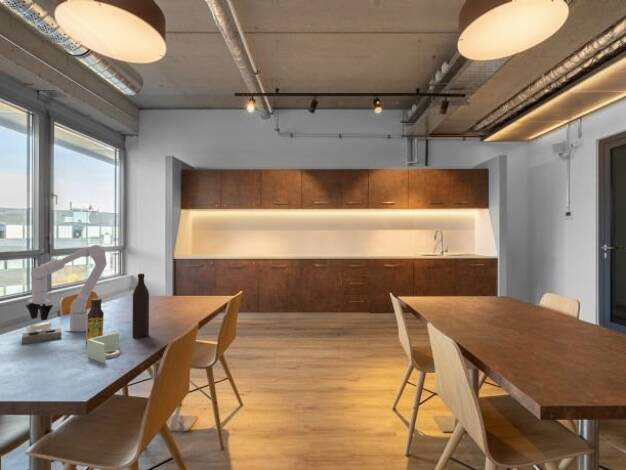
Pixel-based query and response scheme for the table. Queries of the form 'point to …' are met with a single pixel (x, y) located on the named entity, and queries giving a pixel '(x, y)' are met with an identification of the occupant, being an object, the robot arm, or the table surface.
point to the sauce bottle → (95, 320)
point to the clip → (39, 327)
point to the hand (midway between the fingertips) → (39, 319)
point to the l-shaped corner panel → (103, 347)
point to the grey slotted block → (41, 336)
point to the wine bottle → (140, 309)
